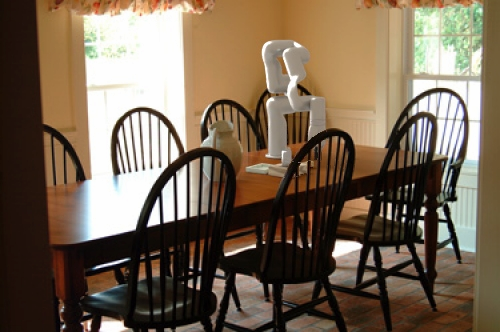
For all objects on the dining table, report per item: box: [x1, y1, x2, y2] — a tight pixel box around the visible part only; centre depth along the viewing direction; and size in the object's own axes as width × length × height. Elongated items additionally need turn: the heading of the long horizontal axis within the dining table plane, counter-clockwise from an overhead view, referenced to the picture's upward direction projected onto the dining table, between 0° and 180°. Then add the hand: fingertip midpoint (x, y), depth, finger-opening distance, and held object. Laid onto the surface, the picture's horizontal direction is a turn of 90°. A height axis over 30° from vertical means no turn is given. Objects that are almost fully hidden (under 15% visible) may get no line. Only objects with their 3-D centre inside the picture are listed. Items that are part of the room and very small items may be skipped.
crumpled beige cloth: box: [268, 162, 308, 178], centre depth 343 cm, size 16×12×4 cm
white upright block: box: [281, 150, 293, 167], centre depth 341 cm, size 4×4×11 cm
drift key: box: [302, 160, 315, 167], centre depth 354 cm, size 12×2×3 cm, turn 143°
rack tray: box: [245, 163, 274, 175], centre depth 351 cm, size 13×11×2 cm
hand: (317, 159), depth 362 cm, fingers closed
